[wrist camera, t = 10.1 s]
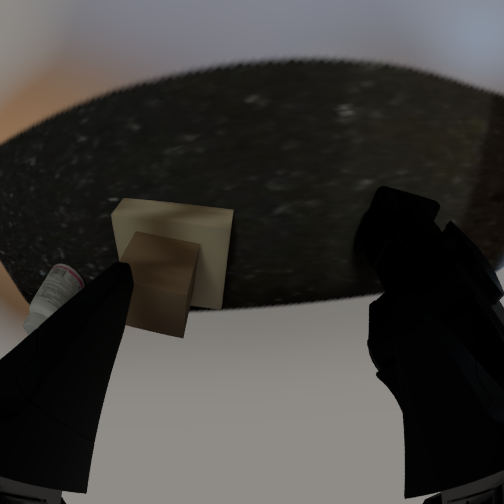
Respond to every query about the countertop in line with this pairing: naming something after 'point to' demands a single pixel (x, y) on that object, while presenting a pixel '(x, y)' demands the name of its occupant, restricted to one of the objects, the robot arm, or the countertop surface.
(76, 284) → the pill bottle
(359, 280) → the countertop surface
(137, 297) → the walnut cube
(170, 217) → the maple block
